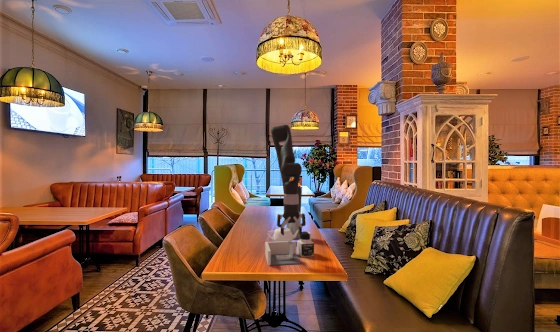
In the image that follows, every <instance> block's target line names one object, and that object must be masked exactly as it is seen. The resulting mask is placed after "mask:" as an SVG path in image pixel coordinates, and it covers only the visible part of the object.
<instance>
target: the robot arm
mask: <svg viewBox="0 0 560 332" xmlns="http://www.w3.org/2000/svg"><path fill="white" fill-rule="evenodd" d="M270 134H271V138H272V143H273V145H274V149H275V153H276V159H277V163H278V169H279V173H280V176H281V182H282V189H283V190H282V191H283V214H279V213H278V214H277V217H276V218H277V219H276V226H277V228H281V234H282V235H284V228H288V229H290V230H291V232H292V235H294V234H295V233H296V231H297V230H298V233H297V236H296V237H295V238H294V239H293V240H300V235H301V233H302V232H303V231H302V230H303V227H305V226H306V224H307V223H306V214H305V213H302V212H301V210H302V187H301V186H299V182H300V179H301V178H300V177H301V175H302V170H303V168H302V165H301V164H300V163H299V162H296V157H295V153H294V148H293V138H292V132H291V128H290V126H289V125H288V124H282V125H277V126H273V127H271V129H270ZM281 142H284V143H283V145H282V146H281ZM291 178H293V179H292V180H291ZM282 219H283V221H282V223H281V220H282ZM284 226H285V227H284ZM283 227H284V228H283Z"/></svg>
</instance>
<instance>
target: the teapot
mask: <svg viewBox="0 0 560 332" xmlns="http://www.w3.org/2000/svg"><path fill="white" fill-rule="evenodd" d="M283 228H284V235H282V234H281V228H280V227H277V228H276V229H275V230H268V231H267V233H266V235H267V237H269V239H271V240H273V242H281V241H294V240H295V239H294V238H295V237H296V236H297V233H298V230H297V231H296V233H295V234H294V235H292V232H291V230H290V229H288V228H286V225H285V226H284V227H283ZM270 233H272V234H273V235H272V236H271V235H270Z"/></svg>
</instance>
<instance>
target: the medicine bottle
mask: <svg viewBox="0 0 560 332" xmlns="http://www.w3.org/2000/svg"><path fill="white" fill-rule="evenodd" d="M296 240H297V241H296V254H298V256H300V257H301V258H304V257H305V258H307V257H309V258H310V257H315V242H314V241H312V233H311V232H310V231H302V233H301V235H300V238H299V239H296Z"/></svg>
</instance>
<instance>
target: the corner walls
mask: <svg viewBox="0 0 560 332" xmlns="http://www.w3.org/2000/svg"><path fill="white" fill-rule="evenodd" d="M288 242H289V241H281V242H274V241H265V243H264V245H265V247H264V251H265V252H264V253H265V254H264V256H265V260H266V263H267V266H268V267H269V266H270V265H271V255H273V254H288ZM291 242H292V244H293V254H296V255H297V241H296V240H292V241H291ZM271 266H272V265H271Z"/></svg>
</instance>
